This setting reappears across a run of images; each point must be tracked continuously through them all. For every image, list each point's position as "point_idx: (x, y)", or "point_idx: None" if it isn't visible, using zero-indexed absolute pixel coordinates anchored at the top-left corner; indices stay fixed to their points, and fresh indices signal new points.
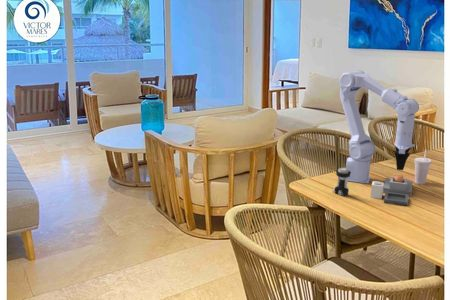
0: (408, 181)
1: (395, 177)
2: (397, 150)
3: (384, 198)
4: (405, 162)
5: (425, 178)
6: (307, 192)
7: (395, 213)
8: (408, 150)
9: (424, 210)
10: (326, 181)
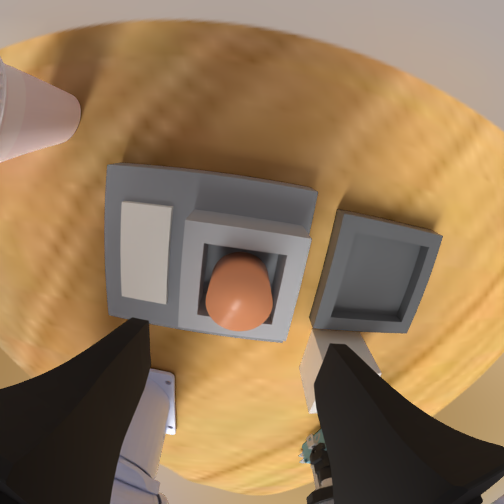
0: (118, 189)
1: (252, 324)
2: (105, 500)
3: (399, 332)
4: (405, 398)
5: (57, 88)
6: (312, 478)
7: (478, 284)
8: (48, 446)
9: (461, 163)
10: (206, 462)
